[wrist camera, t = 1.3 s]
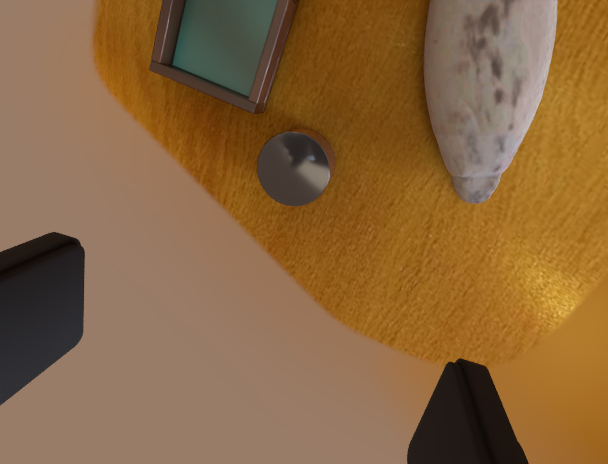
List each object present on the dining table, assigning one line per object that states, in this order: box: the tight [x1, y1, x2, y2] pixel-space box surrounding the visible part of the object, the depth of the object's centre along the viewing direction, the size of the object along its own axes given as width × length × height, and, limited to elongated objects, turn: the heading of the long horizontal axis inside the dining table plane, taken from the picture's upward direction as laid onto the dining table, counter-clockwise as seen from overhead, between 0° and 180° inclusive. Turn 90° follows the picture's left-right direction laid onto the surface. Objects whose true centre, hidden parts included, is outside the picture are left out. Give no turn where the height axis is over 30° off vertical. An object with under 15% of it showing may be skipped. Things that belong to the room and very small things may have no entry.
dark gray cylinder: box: [257, 128, 336, 206], centre depth 23 cm, size 4×4×3 cm
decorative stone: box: [424, 0, 558, 204], centre depth 19 cm, size 6×16×3 cm, turn 6°
